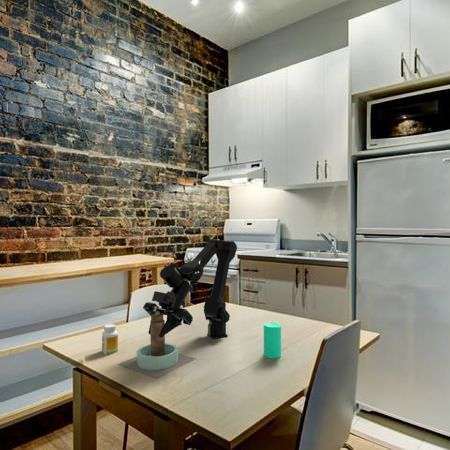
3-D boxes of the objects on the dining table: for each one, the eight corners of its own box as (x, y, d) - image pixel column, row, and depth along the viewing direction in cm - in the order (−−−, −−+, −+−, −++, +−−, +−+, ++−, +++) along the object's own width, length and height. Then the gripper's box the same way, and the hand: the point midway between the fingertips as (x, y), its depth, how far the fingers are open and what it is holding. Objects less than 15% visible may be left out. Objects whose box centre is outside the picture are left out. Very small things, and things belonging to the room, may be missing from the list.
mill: (165, 351, 117) (165, 309, 117) (163, 357, 112) (163, 313, 112) (152, 351, 117) (151, 309, 117) (149, 357, 112) (149, 313, 112)
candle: (270, 359, 118) (270, 323, 118) (260, 353, 123) (260, 319, 123) (284, 356, 120) (284, 321, 120) (274, 350, 126) (274, 317, 126)
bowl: (171, 351, 123) (171, 340, 123) (182, 365, 112) (182, 353, 112) (133, 357, 118) (133, 346, 118) (141, 372, 106) (141, 360, 106)
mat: (158, 349, 127) (158, 347, 127) (196, 360, 117) (196, 358, 117) (117, 366, 112) (117, 364, 112) (157, 380, 102) (157, 378, 102)
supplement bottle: (121, 351, 125) (121, 324, 125) (111, 356, 120) (111, 328, 120) (108, 349, 127) (108, 322, 127) (98, 354, 122) (98, 327, 122)
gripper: (146, 279, 123) (121, 317, 114) (186, 284, 112) (162, 327, 103) (162, 297, 130) (140, 335, 121) (202, 304, 119) (180, 346, 110)
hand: (154, 335), depth 114 cm, fingers closed on mill, 4 cm apart
